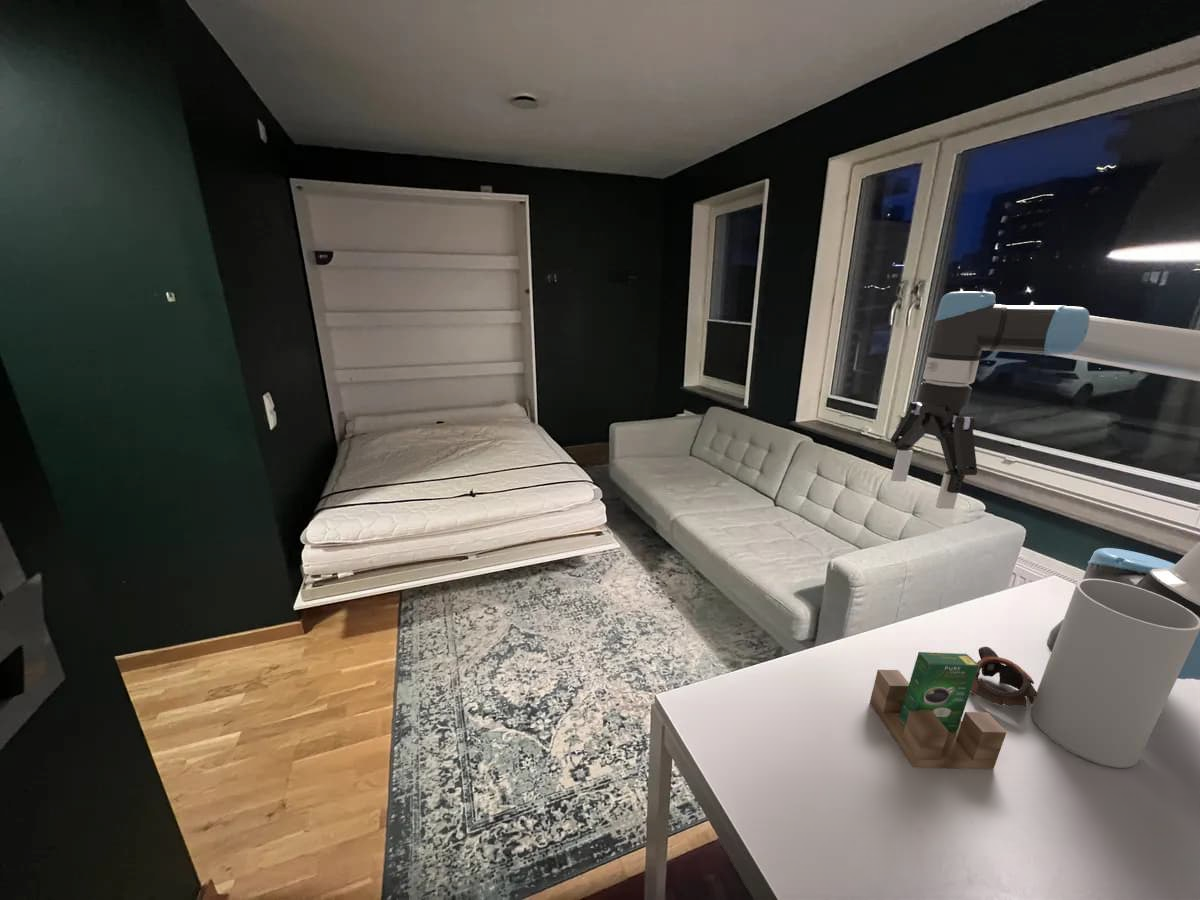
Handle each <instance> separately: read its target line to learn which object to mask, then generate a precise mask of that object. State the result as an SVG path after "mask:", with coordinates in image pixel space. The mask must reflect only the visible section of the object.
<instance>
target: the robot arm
mask: <svg viewBox="0 0 1200 900" xmlns="http://www.w3.org/2000/svg"><path fill="white" fill-rule="evenodd" d="M996 303H997V302H996V294H995V293H994V292H992V291H951V292H948V293H946V294H944V295H943V296H942V297H941V299H940V302H939V306H938V310H937V313H936V316H935V318H934V324H933V328H932V334H931V337H930V341H929V342H930V343H929V347H928V351H927V359H926V362H925V366H924V371H923V374H922V379H924V380H925V381H923V382H921V383H920V385H919V390H918V395H917V402H916V401H915V402H914V401H913V402H912V401H911V402H910V403H909V405H908V407H907V411H906V413H905V415H904V416H903V418H902V420H901V421H900V423H899V424H898V426H897V428H896V430H895V431H894V433H893V434H892V436H891V437H890V442H891V443H892V444H894V446H895V449H896V451H895V454H894V455H895V456H894V460H893V468H892V472H891V476H890V480H891V482H907V479H908V475H909V469H910V465H911V462H912V461H911V460H912V458H913V457H912V456H913V452H914V450H913V449H914V445H915V444H917V442H918V441H920V440H921V438H923V437H924V436H925V435H926V434H927V433H930V434H931V435H934V436H935V438H936V439H937V440H939V443H940V446H941V450H942V453H943V457H944V459H945V462H946V467H947V469H948V470H947V471H945V472H943V477H942V480H941V485H940V489H939V493H938V497H937V498H936V499H937V500H936V504H935V508H936V509H942V510H943V509H945V510H948V509H950V510H953V509H954V508H955V505H956V501H957V498H958V494H960V492H961V489H962V486H963V482H964V478H965V477H966V476H976V475H977V473H978V465H977V464H978V463H977V456H976V449H975V448H976V447H975V439H974V427H975V422H976V421H975V417H972V416H961V410H962V409H963V408H966V407H967V406H968V405H969V401H970V398H971V393H972V389H973V388H972V387H971V386H970V384H974V382H975V380H976V376H977V371H978V367H979V363H980V358H981V354H982V351H989V352H995V351H997V352H1006V353H1007V352H1008V353H1017V354H1018V353H1021V354H1023V353H1024V354H1036V355H1037V354H1038V355H1045V356H1054V357H1060V358H1065V359H1070V360H1075V361H1076V360H1077V361H1082V362H1086V363H1087V362H1088V363H1094V364H1099V365H1105V366H1111V367H1116V368H1123V369H1128V370H1133V371H1138V372H1139V371H1140V372H1143V373H1144V372H1145V373H1146V372H1147V373H1151V374H1155V375H1163V376H1168V377H1173V378H1179V379H1185V380H1190V381H1196V382H1200V330H1196V329H1189V328H1181V327H1180V328H1179V327H1174V326H1167V325H1159V324H1153V323H1145V322H1139V321H1132V320H1131V321H1130V320H1124V319H1117V318H1111V317H1110V318H1109V317H1100V316H1095V315H1090V312H1089V310H1088V309H1087V308H1085V307H1082V306H1071V305H1070V306H1067V305H1064V304H1062V305H1033V304H1032V305H1013V304H1012V305H1006V304H1000V303H999V304H998V303H997V304H996ZM1087 564H1088V565H1087V567H1086V570H1085V572H1084V575H1083V577H1082V578H1083V579H1103V580H1110V581H1115V582H1120V583H1124V584H1128V585H1132V586H1135V587H1138V588H1141V589H1145V590H1147V591H1150V592H1153V593H1156V594H1158V595H1161V596H1163V597H1165V598H1168V599H1170V600H1172V601H1174V602H1176V603H1178V604H1180V605H1182V606H1184V607H1185V608H1187V609H1189V610H1190V611H1191V612H1193V613H1194V614H1195V615H1197V616H1198V617H1199V618H1200V540H1199V541H1198V542H1197V543H1196V544H1195V545H1194V546H1193V547H1192V548H1191V549H1190V550H1189V551H1188V552H1187V553H1186V554H1185V555H1184V556H1183V557H1181V559H1180V560H1178V561H1177V562H1176V563H1174V562H1171V561H1168V560H1165V559H1162V558H1159V557H1156V556H1152V555H1148V554H1146V553H1141V552H1136V551H1131V550H1128V549H1127V550H1126V549H1121V548H1114V547H1112V548H1111V547H1103V548H1098V549H1096V550H1095V551H1094V552H1093V554H1092V556H1091V557H1090V560H1088V561H1087ZM1083 579H1082V580H1083ZM1063 620H1064V618H1063V619H1061V620H1060V622H1059V623H1057V624H1056V625H1055V626H1054V627H1053V628H1052V629H1051V631H1050V632H1049V635H1048V638H1047V640H1046V641H1047V646H1048V648H1049V649H1050V650H1051V651H1052V650H1053V647H1054V644H1055V641H1056V639H1057V636H1058V633H1059V631H1060V628H1061V625H1062V623H1063ZM1177 679H1179V680H1186V679H1187V680H1196V681H1200V631H1199V633H1198V635H1197V637H1196V639H1195V642H1194V644H1193V646H1192V648H1191V650H1190V652H1189V654H1188V656H1187V658H1186V661H1185V663H1184V665H1183V667H1182V669H1181V671H1180V673H1179V675H1178V677H1177Z"/></svg>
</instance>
